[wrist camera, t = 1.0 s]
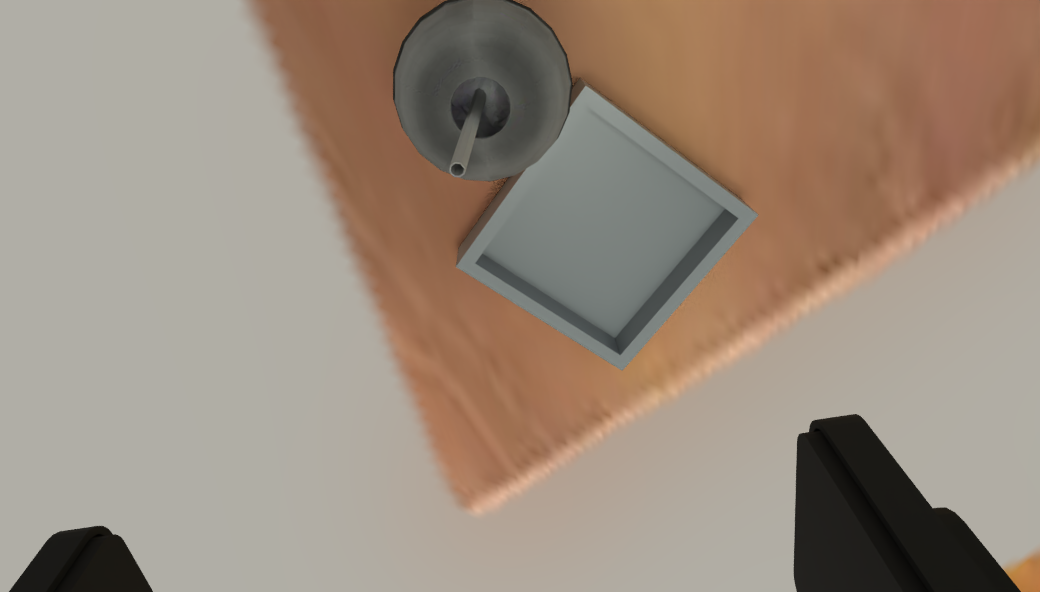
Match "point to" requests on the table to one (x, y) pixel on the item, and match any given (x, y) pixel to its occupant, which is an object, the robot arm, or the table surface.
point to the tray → (604, 231)
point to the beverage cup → (482, 88)
